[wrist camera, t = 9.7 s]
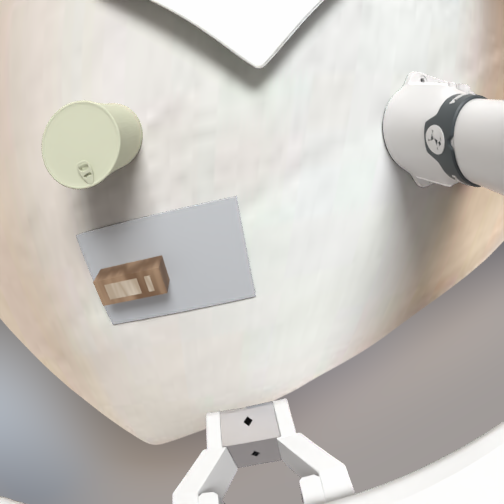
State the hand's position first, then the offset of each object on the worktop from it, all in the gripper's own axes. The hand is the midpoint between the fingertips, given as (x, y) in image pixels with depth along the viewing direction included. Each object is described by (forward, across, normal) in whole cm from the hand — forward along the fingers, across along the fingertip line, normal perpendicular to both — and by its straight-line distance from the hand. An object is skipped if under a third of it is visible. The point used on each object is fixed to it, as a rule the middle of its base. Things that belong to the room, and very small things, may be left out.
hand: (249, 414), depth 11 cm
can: (+35, +13, -10) cm, 39 cm away
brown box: (+32, +10, +10) cm, 35 cm away
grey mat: (+35, +10, +10) cm, 37 cm away
